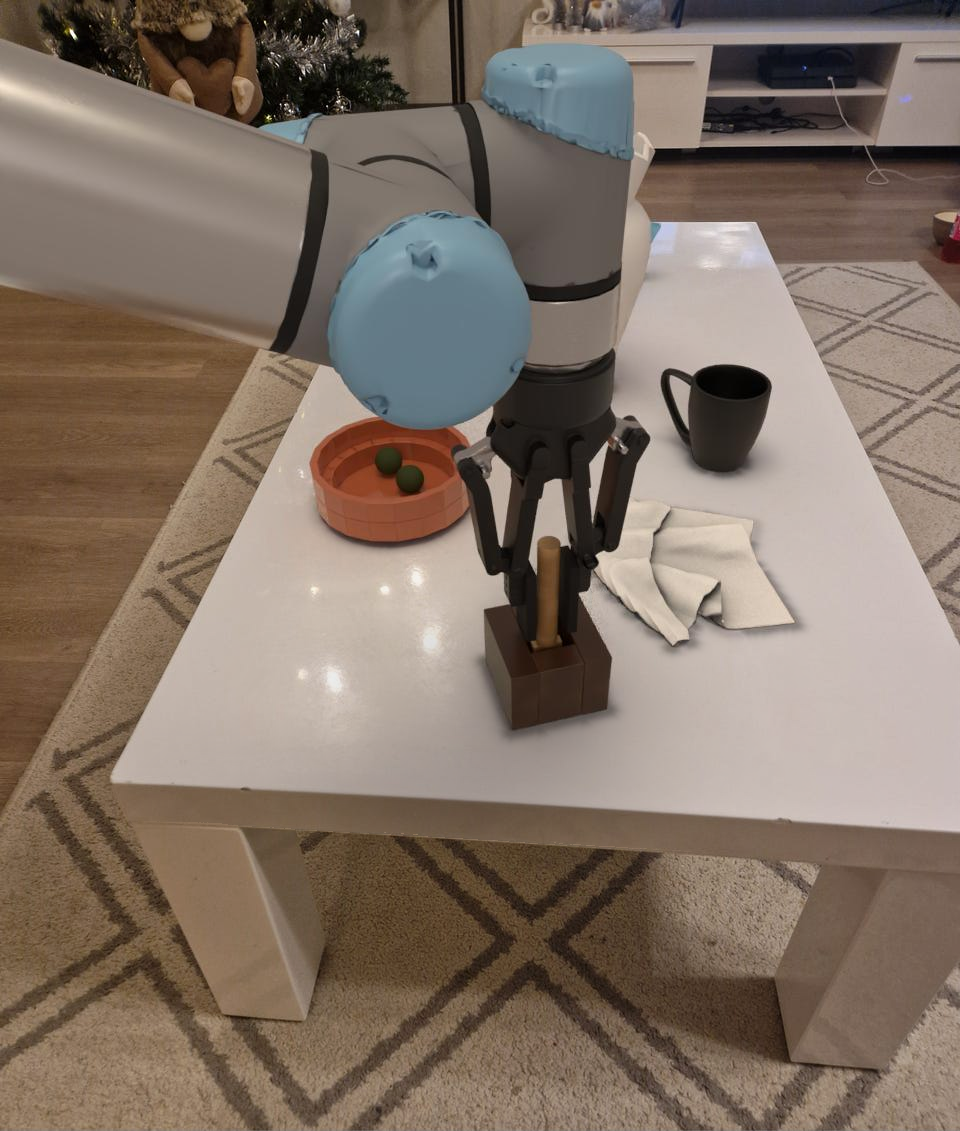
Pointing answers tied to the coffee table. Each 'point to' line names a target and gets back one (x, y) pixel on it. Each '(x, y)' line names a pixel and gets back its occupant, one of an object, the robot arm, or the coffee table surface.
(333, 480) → the bowl
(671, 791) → the coffee table surface
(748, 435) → the mug
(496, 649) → the holder
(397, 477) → the olive
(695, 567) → the cloth
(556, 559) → the stick
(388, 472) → the ball
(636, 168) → the vase
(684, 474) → the coffee table surface
